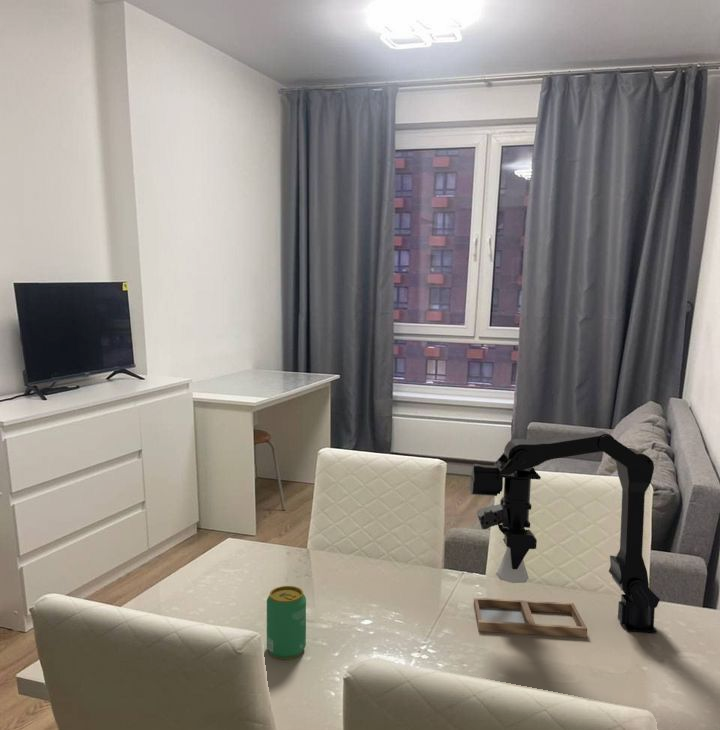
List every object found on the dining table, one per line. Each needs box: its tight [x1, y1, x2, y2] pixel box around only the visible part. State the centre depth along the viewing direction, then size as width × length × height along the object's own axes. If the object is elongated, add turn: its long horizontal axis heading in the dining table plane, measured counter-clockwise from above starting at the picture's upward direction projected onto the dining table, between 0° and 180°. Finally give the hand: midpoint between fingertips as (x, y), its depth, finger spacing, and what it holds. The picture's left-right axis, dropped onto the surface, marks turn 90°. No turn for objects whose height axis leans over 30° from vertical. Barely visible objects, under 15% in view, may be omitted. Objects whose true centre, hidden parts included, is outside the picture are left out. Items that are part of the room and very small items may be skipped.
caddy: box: [473, 597, 588, 638], centre depth 136 cm, size 23×12×2 cm, turn 84°
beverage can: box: [266, 585, 307, 660], centre depth 122 cm, size 8×8×12 cm
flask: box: [495, 546, 529, 584], centre depth 135 cm, size 7×7×10 cm
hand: (512, 564), depth 135 cm, fingers closed on flask, 5 cm apart
